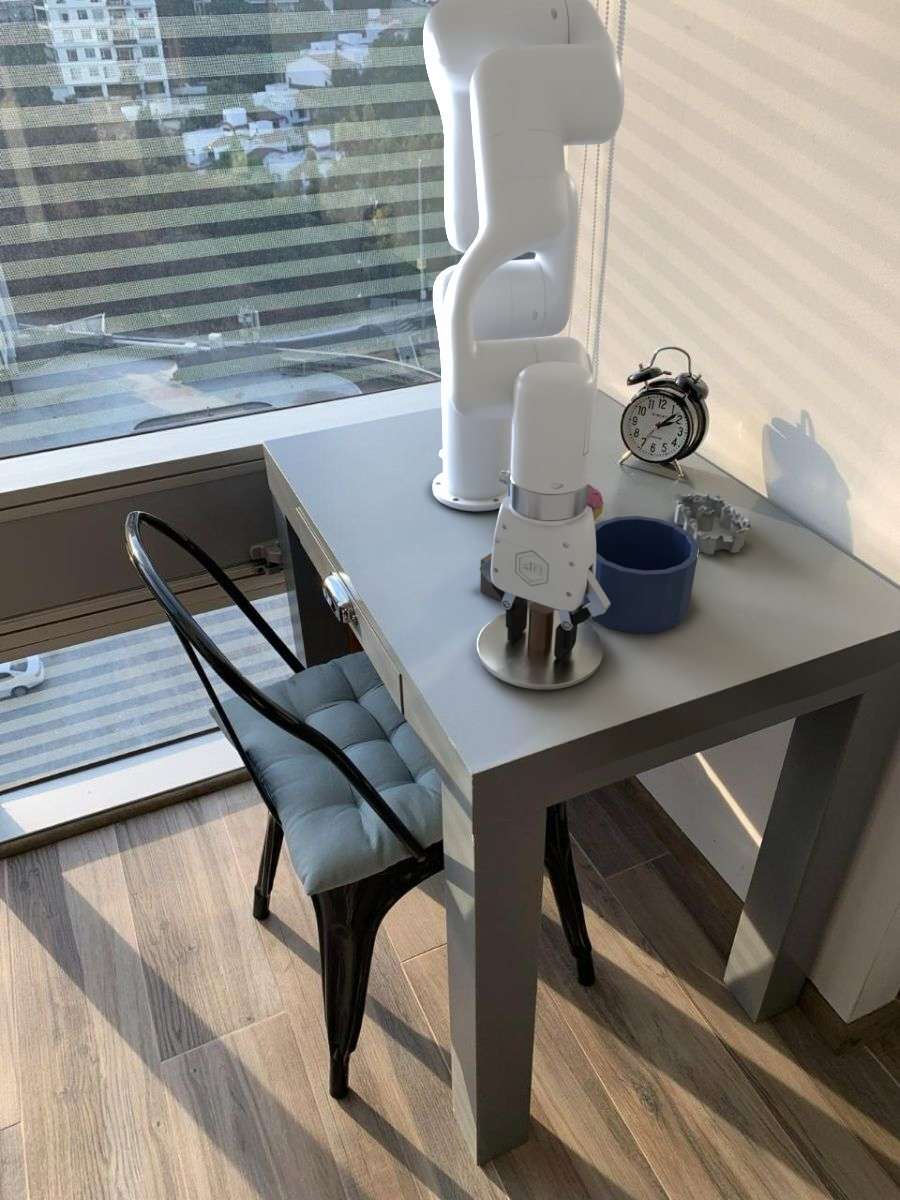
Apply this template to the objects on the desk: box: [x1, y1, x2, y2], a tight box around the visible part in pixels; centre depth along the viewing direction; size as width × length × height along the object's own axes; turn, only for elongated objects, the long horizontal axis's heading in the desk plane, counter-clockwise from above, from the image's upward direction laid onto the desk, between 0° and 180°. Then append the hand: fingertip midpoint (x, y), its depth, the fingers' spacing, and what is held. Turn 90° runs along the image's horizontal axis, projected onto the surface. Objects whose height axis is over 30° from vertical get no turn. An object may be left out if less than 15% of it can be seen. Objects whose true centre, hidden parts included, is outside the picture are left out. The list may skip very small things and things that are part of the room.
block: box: [479, 552, 502, 603], centre depth 106 cm, size 5×5×5 cm
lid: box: [476, 601, 604, 691], centre depth 96 cm, size 14×14×6 cm
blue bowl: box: [581, 515, 700, 635], centre depth 103 cm, size 13×13×8 cm
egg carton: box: [673, 493, 752, 555], centre depth 117 cm, size 11×8×4 cm
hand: (539, 641), depth 96 cm, fingers open, 5 cm apart
